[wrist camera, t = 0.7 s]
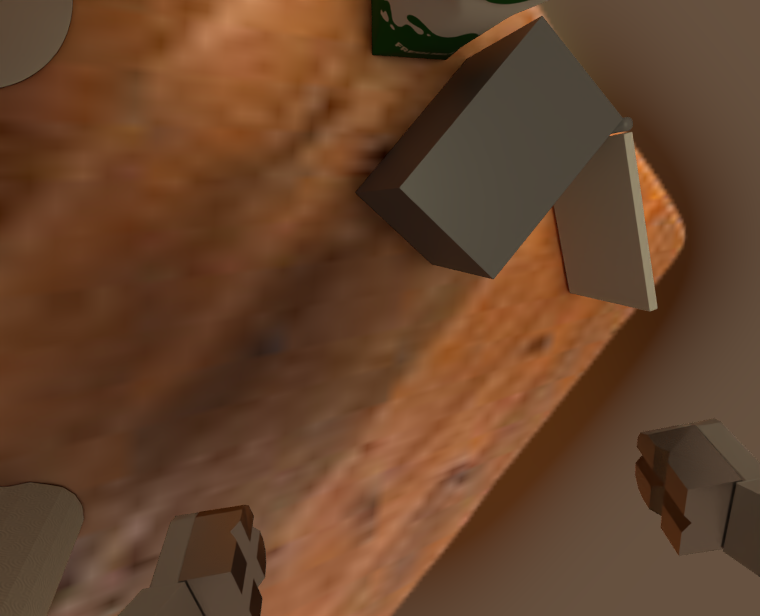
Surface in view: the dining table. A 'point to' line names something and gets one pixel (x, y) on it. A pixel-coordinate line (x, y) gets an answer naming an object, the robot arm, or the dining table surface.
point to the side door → (607, 227)
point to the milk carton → (436, 24)
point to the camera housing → (492, 152)
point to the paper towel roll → (35, 545)
